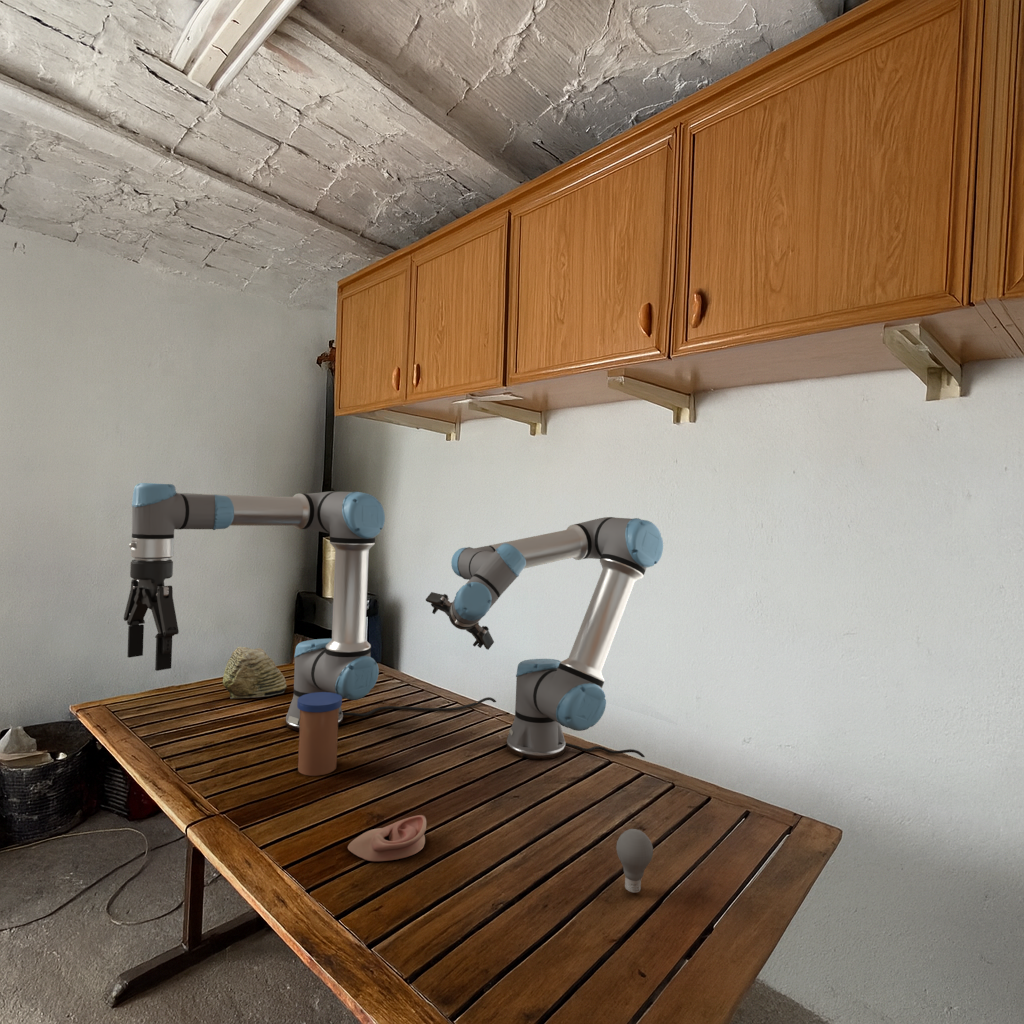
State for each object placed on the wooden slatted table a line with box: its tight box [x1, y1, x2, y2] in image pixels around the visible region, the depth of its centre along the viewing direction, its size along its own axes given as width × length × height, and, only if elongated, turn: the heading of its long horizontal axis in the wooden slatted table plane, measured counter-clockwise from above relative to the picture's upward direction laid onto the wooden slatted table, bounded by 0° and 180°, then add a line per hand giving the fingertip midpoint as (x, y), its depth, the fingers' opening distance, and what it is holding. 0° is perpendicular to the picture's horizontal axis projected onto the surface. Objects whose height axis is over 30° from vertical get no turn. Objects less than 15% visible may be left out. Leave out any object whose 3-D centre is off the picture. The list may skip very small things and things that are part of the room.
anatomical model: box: [347, 814, 427, 862], centre depth 116 cm, size 13×4×12 cm
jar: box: [297, 708, 339, 777], centre depth 148 cm, size 9×9×16 cm
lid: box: [297, 692, 343, 712], centre depth 147 cm, size 10×10×2 cm
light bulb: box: [615, 828, 654, 894], centre depth 106 cm, size 6×6×10 cm
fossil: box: [222, 646, 288, 699], centre depth 198 cm, size 9×18×15 cm, turn 132°
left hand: (148, 662), depth 129 cm, fingers open, 13 cm apart
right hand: (456, 625), depth 167 cm, fingers open, 13 cm apart
